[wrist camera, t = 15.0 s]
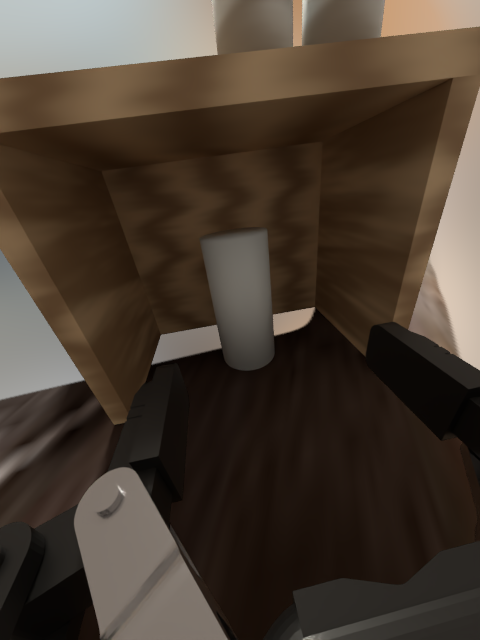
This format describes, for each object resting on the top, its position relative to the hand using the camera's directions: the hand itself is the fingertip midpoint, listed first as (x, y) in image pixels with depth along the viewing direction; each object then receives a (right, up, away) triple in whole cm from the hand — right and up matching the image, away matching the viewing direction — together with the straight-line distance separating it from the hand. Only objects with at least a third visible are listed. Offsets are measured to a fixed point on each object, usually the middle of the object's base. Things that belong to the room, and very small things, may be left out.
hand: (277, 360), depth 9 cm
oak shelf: (-1, -1, +15) cm, 15 cm away
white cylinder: (-1, -2, +14) cm, 14 cm away
